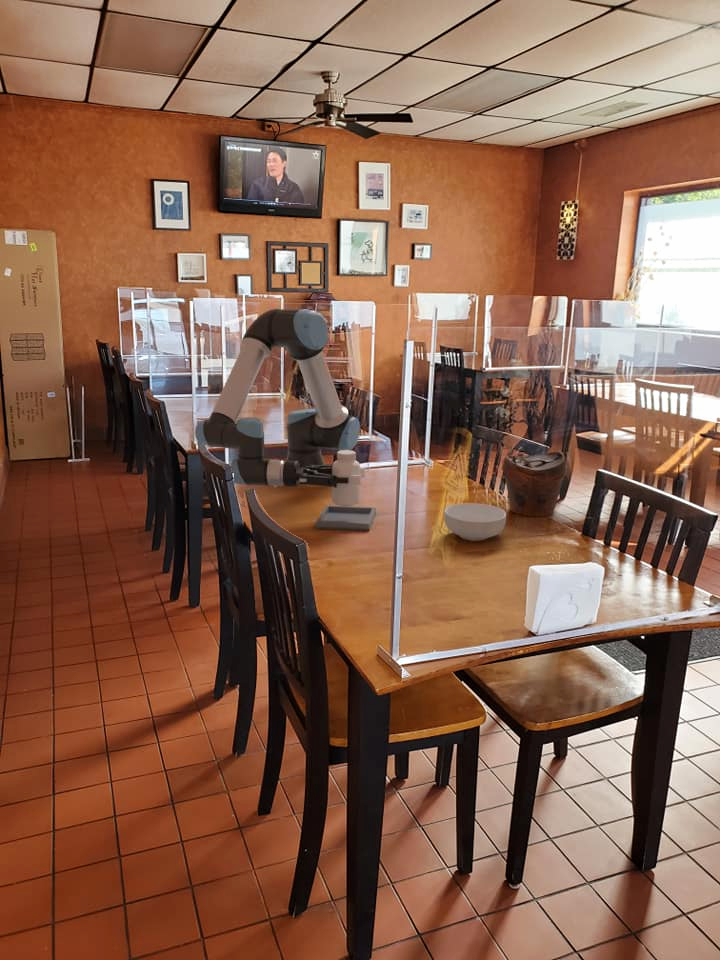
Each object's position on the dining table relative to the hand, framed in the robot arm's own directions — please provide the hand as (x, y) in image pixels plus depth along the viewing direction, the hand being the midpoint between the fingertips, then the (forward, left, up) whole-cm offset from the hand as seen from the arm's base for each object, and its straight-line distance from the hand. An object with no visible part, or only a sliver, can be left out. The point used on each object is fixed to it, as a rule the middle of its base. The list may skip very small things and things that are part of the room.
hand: (362, 476), depth 208 cm
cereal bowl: (+7, +32, -14) cm, 35 cm away
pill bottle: (0, -5, -8) cm, 9 cm away
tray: (0, -5, -14) cm, 14 cm away
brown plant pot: (-17, +49, -14) cm, 54 cm away
